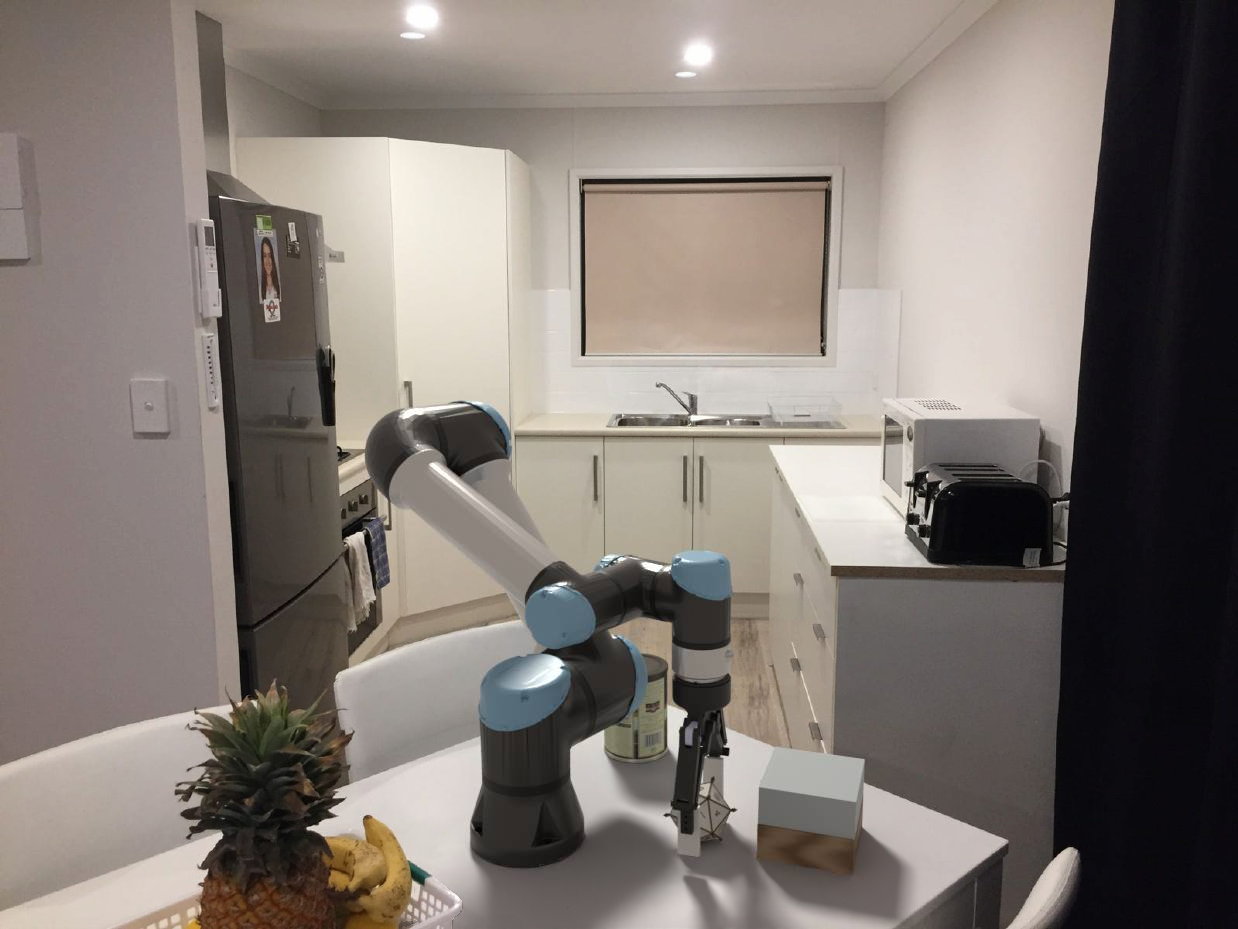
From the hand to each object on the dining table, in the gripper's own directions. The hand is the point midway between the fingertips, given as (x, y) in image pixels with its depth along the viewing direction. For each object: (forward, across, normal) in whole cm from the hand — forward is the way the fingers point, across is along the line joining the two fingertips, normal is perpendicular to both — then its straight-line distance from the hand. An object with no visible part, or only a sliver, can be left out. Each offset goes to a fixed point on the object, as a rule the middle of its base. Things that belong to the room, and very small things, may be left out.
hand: (701, 827), depth 131 cm
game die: (+2, 0, 0) cm, 2 cm away
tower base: (+2, +4, -14) cm, 15 cm away
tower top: (-2, +4, -14) cm, 15 cm away
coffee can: (+2, +23, +16) cm, 28 cm away
